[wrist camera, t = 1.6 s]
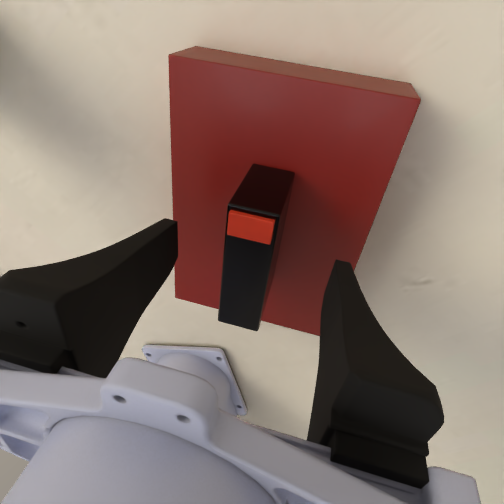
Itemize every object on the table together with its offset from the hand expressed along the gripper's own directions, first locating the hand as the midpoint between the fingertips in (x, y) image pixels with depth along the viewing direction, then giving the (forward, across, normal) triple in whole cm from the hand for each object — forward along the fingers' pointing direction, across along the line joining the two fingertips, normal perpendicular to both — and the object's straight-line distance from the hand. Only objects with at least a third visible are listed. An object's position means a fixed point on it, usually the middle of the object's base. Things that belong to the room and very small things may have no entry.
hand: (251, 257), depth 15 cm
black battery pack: (+3, 0, 0) cm, 3 cm away
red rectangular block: (+6, 0, 0) cm, 6 cm away
